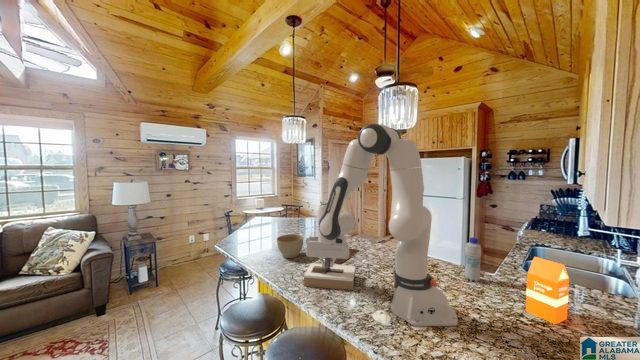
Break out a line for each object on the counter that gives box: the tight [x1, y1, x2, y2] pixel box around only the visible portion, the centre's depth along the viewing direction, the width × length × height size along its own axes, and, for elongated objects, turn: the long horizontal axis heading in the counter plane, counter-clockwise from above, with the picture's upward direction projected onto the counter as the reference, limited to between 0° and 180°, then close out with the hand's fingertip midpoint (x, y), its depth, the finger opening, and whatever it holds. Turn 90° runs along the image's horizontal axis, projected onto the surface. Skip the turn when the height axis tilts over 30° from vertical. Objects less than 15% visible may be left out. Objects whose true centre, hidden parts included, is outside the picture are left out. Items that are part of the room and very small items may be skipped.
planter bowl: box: [276, 234, 305, 259], centre depth 151 cm, size 16×16×11 cm
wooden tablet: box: [330, 248, 359, 265], centre depth 150 cm, size 26×2×10 cm
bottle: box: [464, 237, 482, 283], centre depth 117 cm, size 7×7×20 cm
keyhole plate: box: [303, 262, 356, 291], centre depth 118 cm, size 22×14×5 cm, turn 78°
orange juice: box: [525, 256, 570, 325], centre depth 89 cm, size 8×9×20 cm
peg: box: [324, 258, 330, 274], centre depth 118 cm, size 5×5×11 cm
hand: (327, 266), depth 118 cm, fingers closed on peg, 2 cm apart
